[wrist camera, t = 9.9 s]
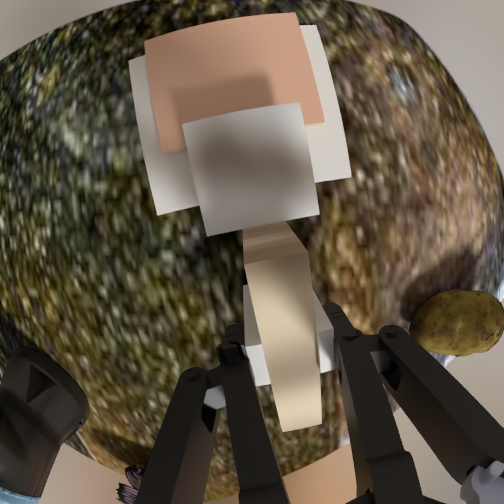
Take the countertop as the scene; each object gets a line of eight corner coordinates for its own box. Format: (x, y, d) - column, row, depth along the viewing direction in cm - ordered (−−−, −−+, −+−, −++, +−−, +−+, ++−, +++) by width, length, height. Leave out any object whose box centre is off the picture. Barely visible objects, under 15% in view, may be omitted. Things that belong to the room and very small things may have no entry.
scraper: (329, 356, 21) (353, 414, 15) (246, 373, 21) (249, 436, 15) (297, 104, 15) (330, 72, 8) (184, 125, 15) (151, 104, 9)
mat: (159, 214, 21) (157, 215, 21) (130, 63, 17) (128, 60, 17) (348, 176, 21) (351, 177, 21) (314, 27, 17) (315, 25, 16)
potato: (427, 264, 24) (475, 297, 17) (483, 285, 26) (521, 312, 18) (395, 331, 27) (429, 376, 19) (456, 338, 28) (487, 371, 21)
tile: (162, 153, 18) (143, 41, 15) (167, 154, 19) (149, 47, 16) (325, 122, 18) (295, 12, 15) (319, 124, 19) (291, 20, 16)
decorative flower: (195, 523, 29) (116, 520, 22) (179, 482, 39) (109, 476, 33) (216, 491, 29) (119, 487, 22) (195, 444, 39) (114, 435, 33)
